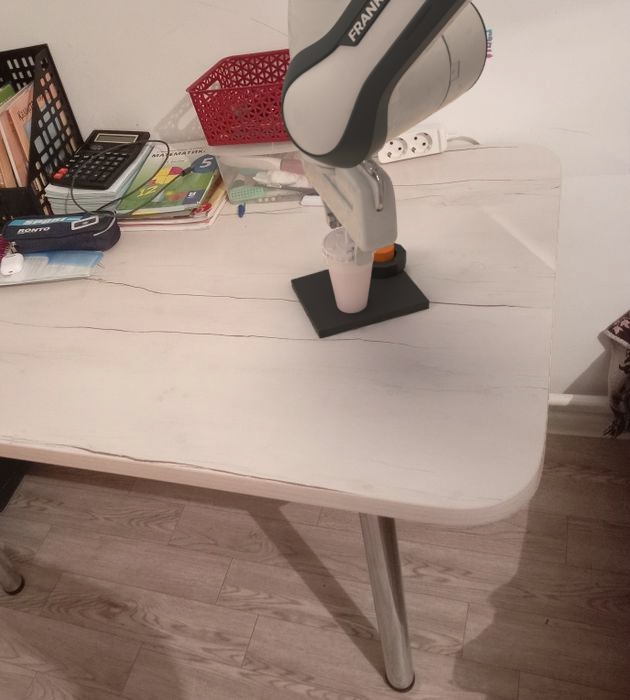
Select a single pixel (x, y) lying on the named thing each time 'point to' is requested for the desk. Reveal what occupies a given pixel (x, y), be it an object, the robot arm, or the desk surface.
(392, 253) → the button
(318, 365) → the desk surface
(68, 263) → the desk surface
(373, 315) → the scale
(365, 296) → the smoothie
